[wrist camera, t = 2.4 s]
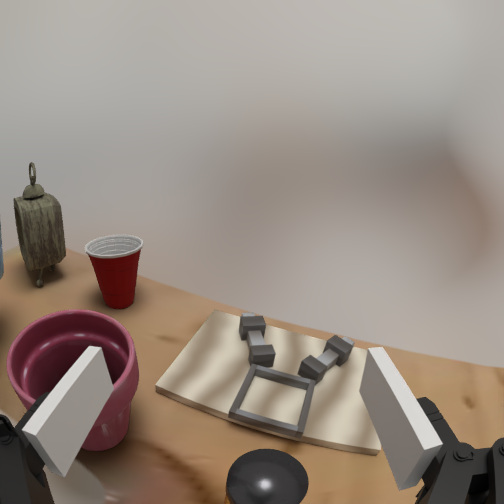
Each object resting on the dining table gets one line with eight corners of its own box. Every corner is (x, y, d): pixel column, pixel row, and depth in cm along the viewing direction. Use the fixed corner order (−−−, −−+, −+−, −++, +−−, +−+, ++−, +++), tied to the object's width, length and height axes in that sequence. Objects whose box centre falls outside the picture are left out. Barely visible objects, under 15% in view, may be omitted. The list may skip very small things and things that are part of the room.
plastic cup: (131, 280, 60) (129, 226, 56) (156, 305, 54) (154, 246, 49) (85, 294, 53) (77, 237, 48) (104, 323, 46) (94, 261, 42)
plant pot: (124, 489, 22) (91, 434, 17) (27, 438, 23) (-19, 367, 18) (164, 400, 35) (157, 327, 30) (77, 369, 36) (56, 296, 31)
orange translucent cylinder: (211, 529, 20) (214, 499, 15) (231, 488, 25) (242, 440, 20) (267, 545, 18) (298, 522, 13) (283, 502, 23) (315, 459, 19)
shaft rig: (154, 394, 36) (150, 372, 34) (214, 316, 54) (215, 295, 52) (375, 458, 29) (391, 441, 27) (377, 359, 47) (386, 339, 45)
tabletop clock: (23, 265, 57) (10, 162, 47) (54, 256, 64) (46, 156, 54) (35, 293, 49) (17, 170, 39) (71, 280, 56) (61, 162, 46)
